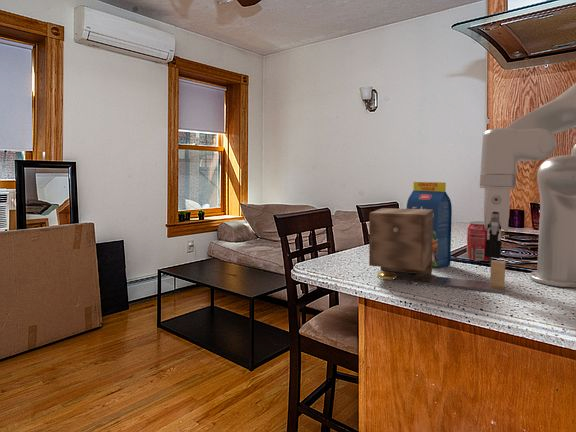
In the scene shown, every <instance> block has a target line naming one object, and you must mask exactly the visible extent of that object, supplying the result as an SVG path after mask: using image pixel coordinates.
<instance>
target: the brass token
mask: <svg viewBox="0 0 576 432" xmlns="http://www.w3.org/2000/svg"><path fill="white" fill-rule="evenodd" d="M397 275H398V274H397V273H395V272H394V271H380V272H377V278H378V277H380V278H384V279H393V278H396V277H397ZM384 279H383V280H384ZM396 279H397V278H396ZM393 280H394V279H393Z"/></svg>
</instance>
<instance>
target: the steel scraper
mask: <svg viewBox="0 0 576 432" xmlns="http://www.w3.org/2000/svg"><path fill="white" fill-rule="evenodd" d="M505 277H506V260H496V259H495V260H494V259H490V278H489V279H490V280H489V281H485V280H476V279H475V280H474V279H465V278H456V277H455V278H454V277H447V276H445V277H444V276H435V275H434V276H433V275H427V274H415V276H414V277H413V278H412V280H411V281H410V283H417V284H416V285H420V284H426V285H425V286H429V285H434V286H433V287H438V286H440V287H439V288H447V287H451V289H457V288H459V289H460V290H466V291H467V290H468V291H475V292H476V291H478V292H485V293H495V294H505V280H506V278H505Z"/></svg>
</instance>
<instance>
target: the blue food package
mask: <svg viewBox="0 0 576 432" xmlns="http://www.w3.org/2000/svg"><path fill="white" fill-rule="evenodd" d="M446 186H447V183H446V182H440V181H437V182H435V181H434V182H433V181H428V182H427V181H413V190H412V191H411V193H410V195H409V197H408V199H407V202H406V209H433V240H432V268H436V269H437V268H442V267H443V268H444V267H448V266H450V265H451V258H452V257H451V254H452V253H451V250H452V249H451V248H452V217H453V216H452V212H453V209H452V208H453V206H452V202H451V201H452V200H451V198H450V196H449V194H448V193H447V192H446Z"/></svg>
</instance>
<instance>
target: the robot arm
mask: <svg viewBox="0 0 576 432" xmlns="http://www.w3.org/2000/svg"><path fill="white" fill-rule="evenodd" d="M575 127H576V82H575V83H574V84H572V85H571V86H570V87H569V88H567V89H566V90H565V91H564V92H562V93H561V94H560V95H558V96H557V97H556V98H555V99H553V100H551V101H548V102H546V103H545V104H542V105H541V106H539V107H537V108H535V109H534V110H532V111H530V112H527V113H526V114H525V115H522V116H521V117H519V118H517V119H516V120H514V121H513V122H511V123H510V124H509V125H508V126H506V127H501V128H500V127H499V128H496V127H495V128H490V129H487V130H486V131H484V133H483V135H482V145H481V146H482V147H481V157H480V158H481V161H480V176H479V186H478V188H479V189H484V200H483V222H484V227H485V230H487V235H486V243H485V257H489V258H491V259H492V258H493V259H500V258H501V254H502V253H501V252H502V240H501V239H502V230H503V231H504V232H505V233H506V232H508V231H509V221H510V220H509V219H510V204H511V203H510V202H511V190H516V185H517V184H516V183H517V170H518V169H517V168H518V162H538V161H542V160H544V161H542V163H541V164H540V165H539V167H538V170H537V174H536V181H537V188H538V191H539V192H538V193H539V207H540V208H539V226H538V245H537V246H538V249H537V266H536V269H537V270H534V271H531V272H530V273H529V279H530V280H532V281H534V282H536V283H539V284H544V285H548V286H552V287H562V288H576V143H575V144H574V146H573V147H572V149H571V152H570V154H565V155H556V156H553V157H551V156H552V155H553V154H554V152H555V150H556V148H557V139H556V136H555V135H556V134H557V133H561V132H566V131H568V130H571V129H573V128H575ZM545 159H546V160H545Z"/></svg>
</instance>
